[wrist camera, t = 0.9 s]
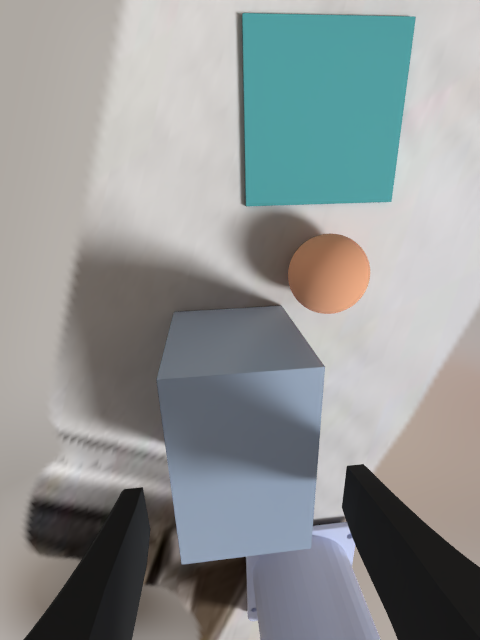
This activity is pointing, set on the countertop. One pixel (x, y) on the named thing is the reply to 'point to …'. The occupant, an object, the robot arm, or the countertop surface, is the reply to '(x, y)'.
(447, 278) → the countertop surface
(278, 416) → the matte gray cuboid
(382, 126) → the mark
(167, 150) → the countertop surface
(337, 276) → the egg
